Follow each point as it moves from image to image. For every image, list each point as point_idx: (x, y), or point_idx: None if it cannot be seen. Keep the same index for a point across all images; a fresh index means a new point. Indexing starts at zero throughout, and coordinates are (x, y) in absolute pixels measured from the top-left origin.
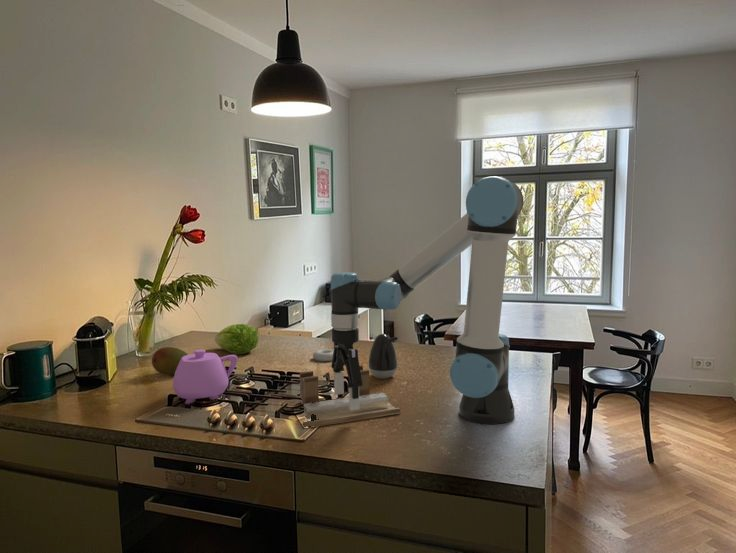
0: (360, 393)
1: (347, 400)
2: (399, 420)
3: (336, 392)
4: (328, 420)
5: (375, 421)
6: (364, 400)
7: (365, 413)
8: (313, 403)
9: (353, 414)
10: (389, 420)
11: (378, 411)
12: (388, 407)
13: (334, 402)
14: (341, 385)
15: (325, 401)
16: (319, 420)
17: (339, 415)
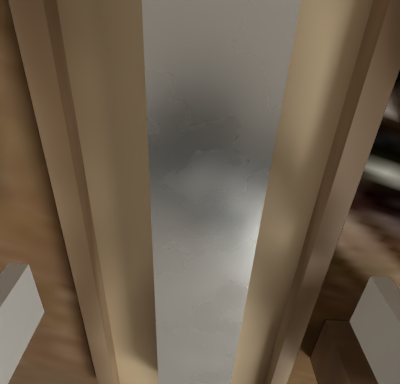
0: (335, 370)
1: (187, 304)
2: (37, 364)
3: (376, 298)
4: (32, 87)
5: (45, 303)
6: (158, 365)
7: (86, 305)
8: (261, 30)
9: (89, 258)
10: (45, 342)
11: (96, 350)
12: None
13: (185, 224)
14: (386, 376)
15: (248, 168)
16: (23, 5)
17: None
